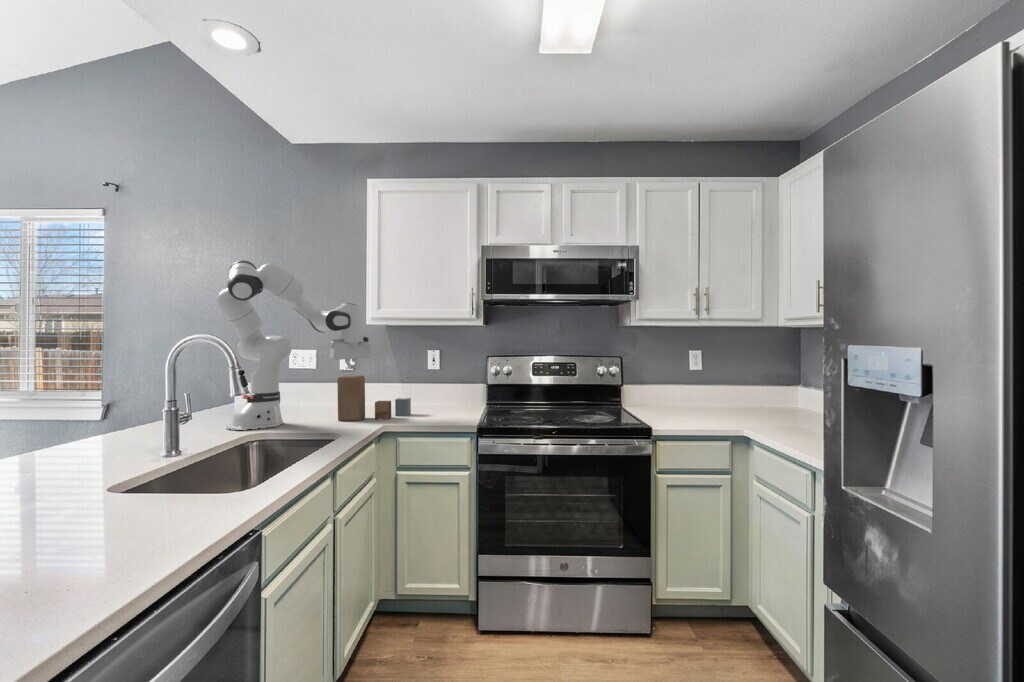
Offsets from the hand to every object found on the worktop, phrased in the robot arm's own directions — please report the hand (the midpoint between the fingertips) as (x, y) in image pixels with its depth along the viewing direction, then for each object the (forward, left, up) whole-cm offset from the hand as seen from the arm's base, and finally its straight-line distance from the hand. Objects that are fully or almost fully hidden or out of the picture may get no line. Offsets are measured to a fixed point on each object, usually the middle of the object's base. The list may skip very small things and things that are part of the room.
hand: (351, 368), depth 238 cm
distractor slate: (+22, -10, -24) cm, 34 cm away
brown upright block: (+10, -10, -24) cm, 27 cm away
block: (0, 0, -24) cm, 24 cm away
